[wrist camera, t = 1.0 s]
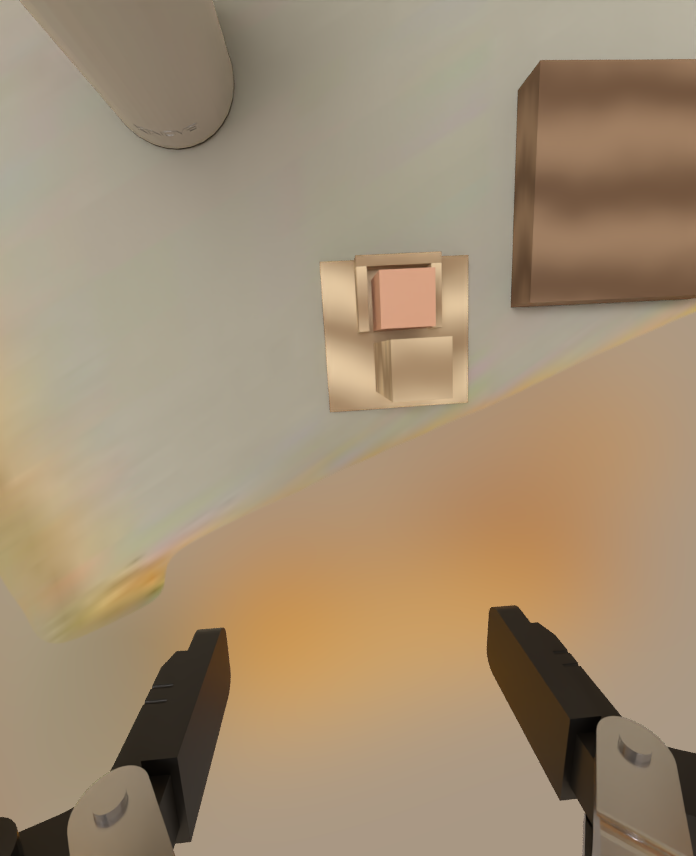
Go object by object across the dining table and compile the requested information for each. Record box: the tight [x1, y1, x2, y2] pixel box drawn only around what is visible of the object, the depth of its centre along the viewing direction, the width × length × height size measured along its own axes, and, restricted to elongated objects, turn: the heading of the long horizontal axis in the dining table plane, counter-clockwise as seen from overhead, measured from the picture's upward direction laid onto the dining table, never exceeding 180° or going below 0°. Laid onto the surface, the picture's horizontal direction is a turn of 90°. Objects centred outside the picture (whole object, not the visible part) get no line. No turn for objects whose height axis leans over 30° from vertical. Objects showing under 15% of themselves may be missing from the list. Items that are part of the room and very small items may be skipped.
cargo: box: [371, 267, 436, 331], centre depth 29 cm, size 4×4×4 cm
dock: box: [511, 59, 696, 307], centre depth 29 cm, size 16×16×3 cm
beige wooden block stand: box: [320, 252, 468, 412], centre depth 28 cm, size 12×12×9 cm
